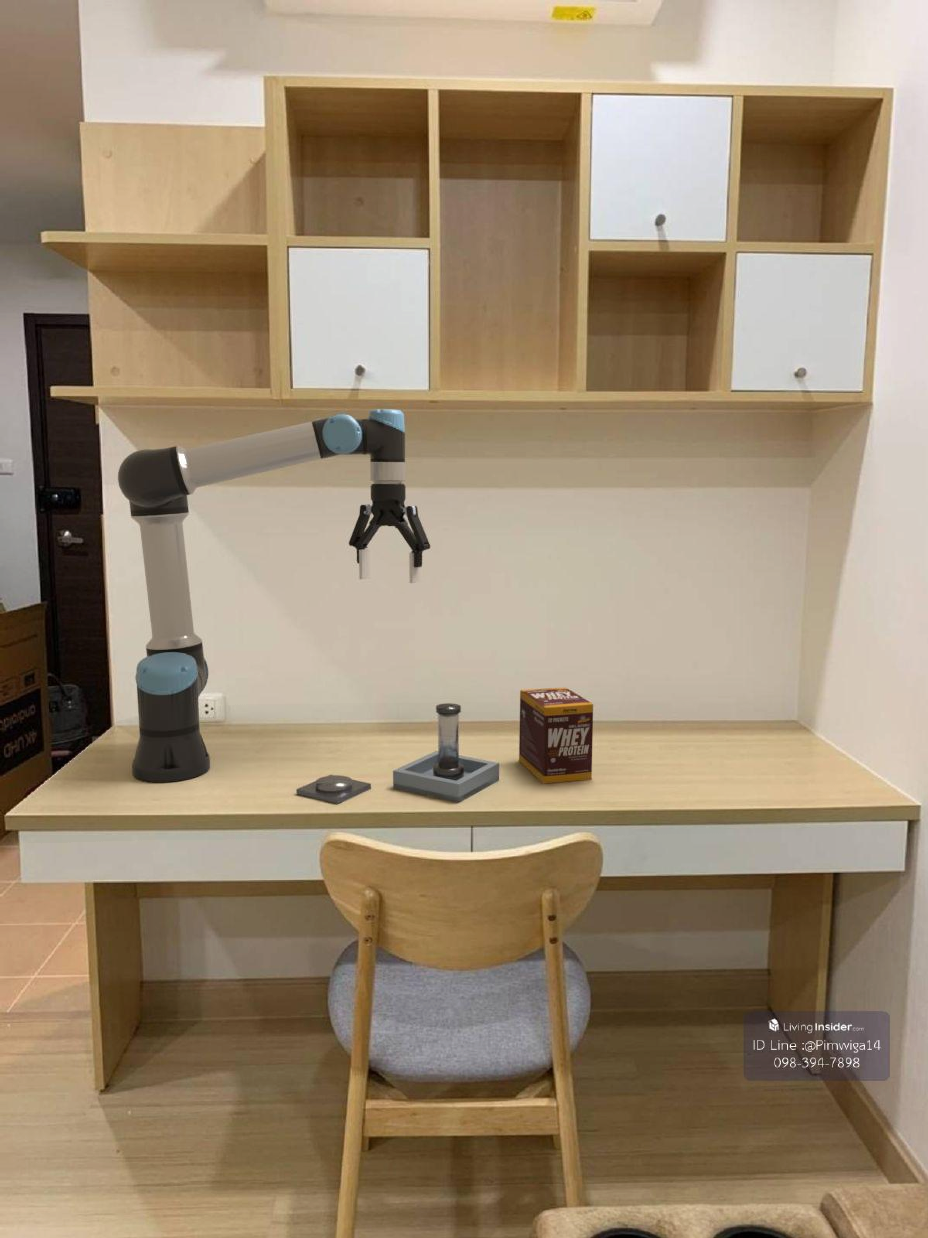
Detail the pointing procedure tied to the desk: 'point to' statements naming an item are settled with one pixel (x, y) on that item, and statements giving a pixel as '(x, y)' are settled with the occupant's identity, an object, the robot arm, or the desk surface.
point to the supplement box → (556, 734)
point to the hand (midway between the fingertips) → (389, 580)
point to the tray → (423, 782)
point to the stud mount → (333, 788)
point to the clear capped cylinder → (448, 743)
